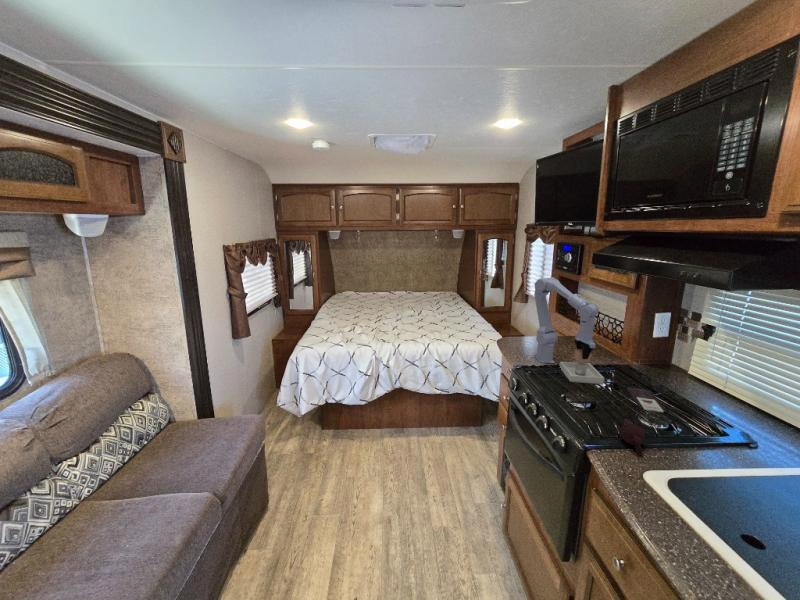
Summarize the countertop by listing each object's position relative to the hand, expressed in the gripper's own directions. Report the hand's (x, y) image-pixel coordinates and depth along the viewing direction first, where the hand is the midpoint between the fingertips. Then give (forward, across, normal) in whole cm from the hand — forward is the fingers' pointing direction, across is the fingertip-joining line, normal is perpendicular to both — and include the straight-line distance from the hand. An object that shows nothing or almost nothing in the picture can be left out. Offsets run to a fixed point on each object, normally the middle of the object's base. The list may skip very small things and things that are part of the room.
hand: (582, 356), depth 153 cm
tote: (+9, 0, 0) cm, 9 cm away
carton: (+2, 0, 0) cm, 2 cm away
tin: (+9, 0, 0) cm, 9 cm away
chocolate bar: (+10, +22, +16) cm, 29 cm away
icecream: (+10, +49, -8) cm, 51 cm away
